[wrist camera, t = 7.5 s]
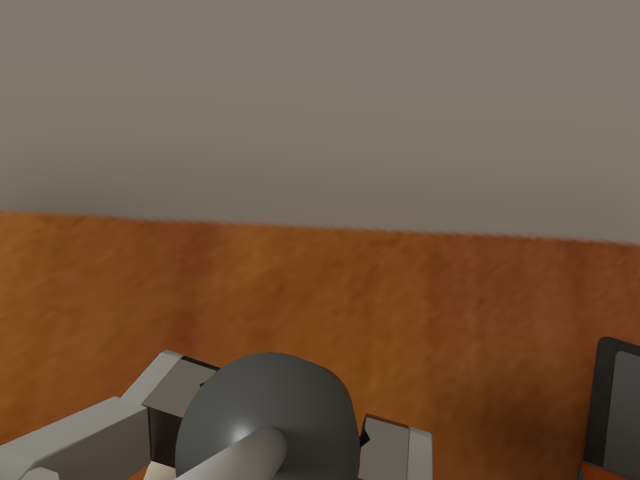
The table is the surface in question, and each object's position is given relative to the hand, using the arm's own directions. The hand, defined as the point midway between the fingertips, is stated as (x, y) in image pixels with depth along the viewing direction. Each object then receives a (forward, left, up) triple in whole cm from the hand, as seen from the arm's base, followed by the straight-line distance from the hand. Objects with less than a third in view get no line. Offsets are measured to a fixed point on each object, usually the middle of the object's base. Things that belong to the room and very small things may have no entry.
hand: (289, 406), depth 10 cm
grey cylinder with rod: (0, +1, -6) cm, 6 cm away
